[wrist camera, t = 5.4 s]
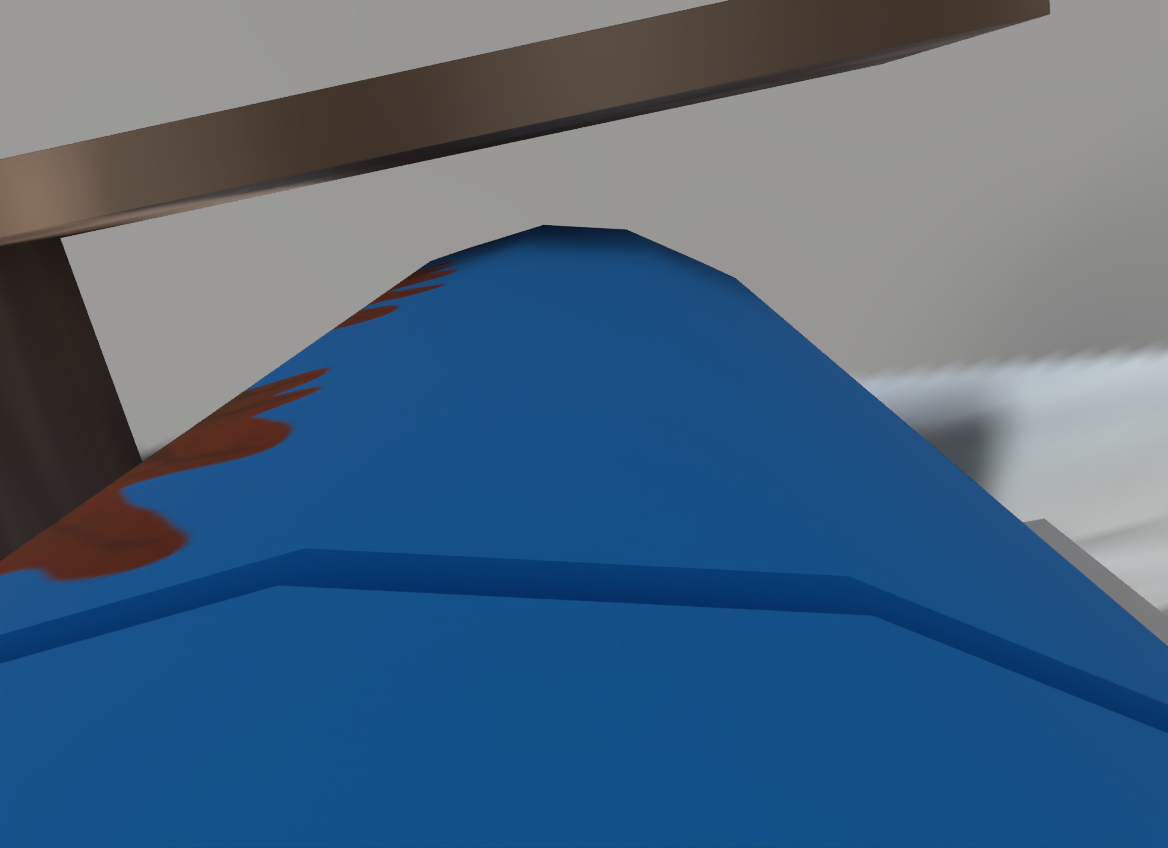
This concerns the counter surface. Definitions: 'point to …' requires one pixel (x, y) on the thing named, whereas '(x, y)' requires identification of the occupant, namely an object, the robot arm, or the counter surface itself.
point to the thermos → (566, 601)
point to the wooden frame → (357, 146)
